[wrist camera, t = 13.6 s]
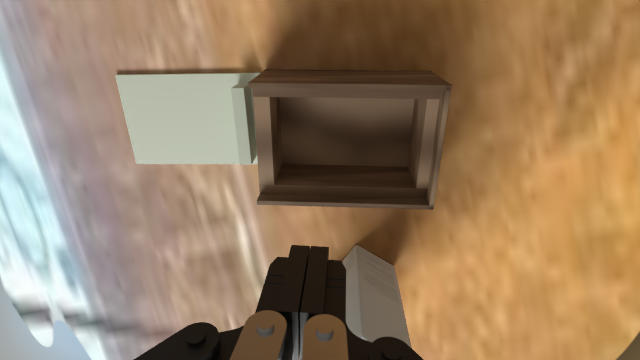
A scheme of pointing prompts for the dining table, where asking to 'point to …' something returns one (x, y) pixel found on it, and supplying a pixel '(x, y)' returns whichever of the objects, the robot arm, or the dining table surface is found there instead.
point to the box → (349, 137)
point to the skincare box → (373, 297)
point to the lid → (190, 117)
